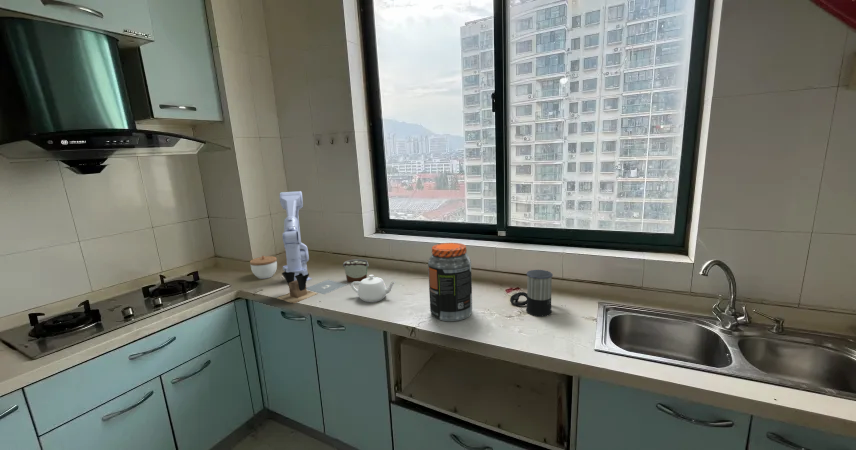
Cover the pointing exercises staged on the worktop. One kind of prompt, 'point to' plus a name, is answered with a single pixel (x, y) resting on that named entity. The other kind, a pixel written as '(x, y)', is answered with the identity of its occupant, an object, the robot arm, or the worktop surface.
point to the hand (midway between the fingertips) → (296, 288)
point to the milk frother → (536, 293)
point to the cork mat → (295, 300)
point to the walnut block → (296, 290)
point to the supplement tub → (450, 282)
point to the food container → (355, 270)
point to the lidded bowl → (264, 266)
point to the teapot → (372, 289)
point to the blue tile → (326, 286)
